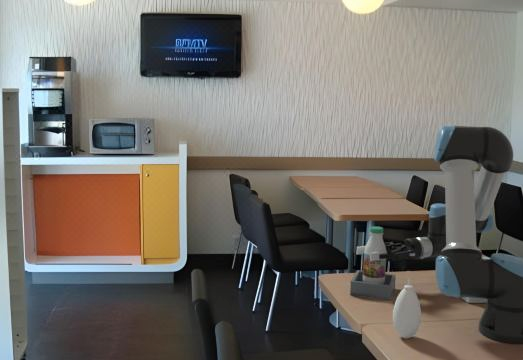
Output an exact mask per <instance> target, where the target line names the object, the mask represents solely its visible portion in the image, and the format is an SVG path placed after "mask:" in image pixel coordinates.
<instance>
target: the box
mask: <svg viewBox="0 0 523 360" xmlns="http://www.w3.org/2000/svg"><path fill="white" fill-rule="evenodd" d="M396 276H397V275H396V274H391V273H385V282H384V284H376V283H368V282H363V270H359V269H357V270H356V271H355V273H354V274H353V277H352V278H351V280H350V287H349V288H350V291H349V296H355V297H360V298H369V299H378V300H386V301H392V299H393V296H394V292H395V289H396V281H397V280H396V279H397V277H396Z"/></svg>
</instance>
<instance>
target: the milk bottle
mask: <svg viewBox="0 0 523 360" xmlns="http://www.w3.org/2000/svg"><path fill="white" fill-rule="evenodd" d="M369 234H370V236H369V238H368V241H367V242H366V245H365V246H366V247H365V251H364V254H363V267H362V271H363V282H368V283H376V284H384V282H385V274H386V265H387V259H384V260H375V261H370V253H372V252H382V251H386V247H385V244H384V243H385V242H384V239H383V235H384V227H382V226H374V225H373V226H370V228H369Z"/></svg>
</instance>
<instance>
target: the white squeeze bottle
mask: <svg viewBox="0 0 523 360" xmlns="http://www.w3.org/2000/svg"><path fill="white" fill-rule="evenodd" d="M410 278H411V277H410V276H409V277H408V281H407V282H408V283H407V284H405V285H404V286H403V289H402V290H401V291H400V292H399V293H398V295H397V297H396V299H395V303H394V306H393V309H392V310H393V311H392V324H393V327H394V330H395V332H396V333H397V334H398V336H399V337H401V338H402V339H410V338H412V337H413V336H415V335H416V334H417V333H418V331H419V328H420V325H421V320H422V319H421V318H422V310H421V304H420V301H419V300H420V299H419V298H418V295H417V293H416V291H415V290H414V286H413V285H412V284H411V279H410Z"/></svg>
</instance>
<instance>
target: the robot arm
mask: <svg viewBox="0 0 523 360" xmlns="http://www.w3.org/2000/svg"><path fill="white" fill-rule="evenodd" d="M433 155H434V157H433V158H434V161H435V162H436V163H439V169H440V170H441V171H442V172H444V185H445V187H444V188H445V189H444V190H445V191H444V192H445V193H444V195H445V203H433V204H431V205H430V209H429V215H428V232H427V236H422V237H421V236H420V237H413V238H412V237H411V238H410V237H409V238H405V239H404V240H403V242H397V243H395V242H394V241H389V242H384V244H385V247H386V251H382V252H372V253H370V261H375V260H384V259H386V260H389V261H390V260H391V261H392V262H395V261H396V262H397V261H401V260H416V259H421V260H424V259H425V258H435V257H436V258H435V276H436V282H437V285H438V288H439V291H440V293H441V294H442V295H444V296H447V297H453V298H454V297H455V298H458V299H459V298H460V297H469V298H482V299H487V303H486V306H485V308H484V311H483V313H482V315H481V317H480V319H479V321H478V331H479V333H480V334H481V335H483V336H485V337H487V338H489V339H492V340H495V341H497V342H502V343H507V344H523V258H521V257H520V256H519V257H518V256H515V255H511V254H507V253H501V252H498V253H492V254H491V256H490V257H489V258H491V259H483V258H482V254H483V252H482V250H481V249H480V248H479V247H478V245H477V233H489V232H492V230H493V227H494V215H493V214H492V213H491V210H492V207H493V205H494V203H495V200H496V197H497V194H498V193H499V190H500V187H501V184H502V182H503V179H504V175H505V174H506V173H507V172H509V171H510V169H511V167H512V165H513V162H514V149H513V146H512V144H511V141H510V139H509V138H508V136H506V134H505V133H503V132H502V131H501V130H498V129H497V128H494V127H492V126H491V127H490V126H468V125H467V126H463V125H455V124H454V125H443V126H442V127H441V128H440V129H439V131H438V134H437V138H436V141H435V146H434V154H433ZM479 164H480V165H479ZM480 166H481V167H480ZM479 167H480V170H479V173H478V175H477V180H476V182H475V171H477V170H478V169H479ZM365 247H366V245H361V246H356V253H355V254H356V255H364V251H365Z"/></svg>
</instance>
